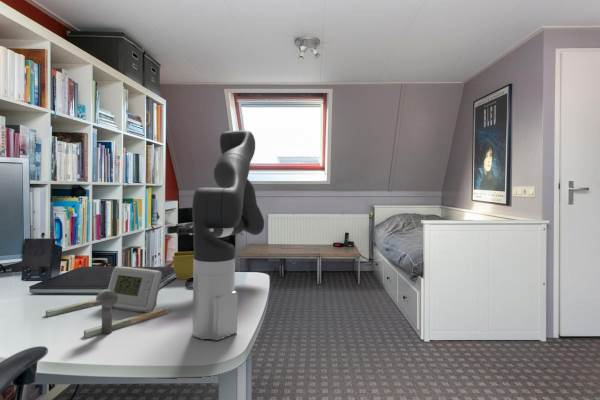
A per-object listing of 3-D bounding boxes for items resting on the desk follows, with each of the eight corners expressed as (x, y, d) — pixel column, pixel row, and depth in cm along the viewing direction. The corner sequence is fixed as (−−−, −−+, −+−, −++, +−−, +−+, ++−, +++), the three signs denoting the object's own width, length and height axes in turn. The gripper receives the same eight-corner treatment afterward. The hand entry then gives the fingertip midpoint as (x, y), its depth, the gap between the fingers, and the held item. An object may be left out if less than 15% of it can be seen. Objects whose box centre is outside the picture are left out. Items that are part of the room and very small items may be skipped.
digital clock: (100, 306, 100) (101, 268, 100) (130, 298, 108) (130, 262, 108) (139, 318, 92) (139, 276, 92) (168, 308, 100) (168, 269, 100)
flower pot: (172, 275, 136) (173, 251, 135) (197, 274, 138) (197, 251, 138) (172, 281, 127) (172, 256, 127) (198, 280, 130) (198, 255, 130)
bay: (172, 315, 95) (172, 278, 94) (91, 340, 78) (92, 296, 78) (122, 297, 109) (123, 265, 108) (45, 315, 92) (45, 277, 92)
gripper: (202, 214, 127) (158, 216, 113) (231, 216, 119) (188, 219, 105) (202, 235, 127) (158, 240, 113) (231, 239, 119) (187, 245, 105)
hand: (173, 230), depth 109 cm, fingers open, 4 cm apart
